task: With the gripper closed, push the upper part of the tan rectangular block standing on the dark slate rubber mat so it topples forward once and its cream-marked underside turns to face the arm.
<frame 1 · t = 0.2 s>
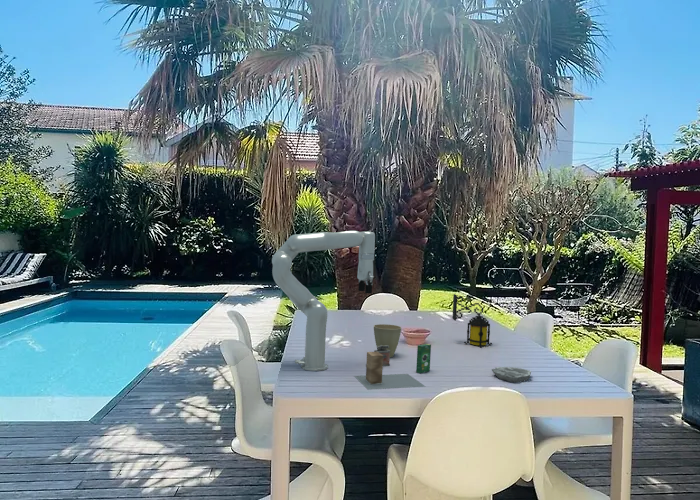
hand: (365, 292, 250), 36 cm above the table, tool pointing down, fingers open, 9 cm apart
wall lantern: (472, 345, 312), on the table
coffee box: (423, 372, 246), on the table
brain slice: (510, 378, 242), on the table
lighter: (381, 365, 255), on the table
slate mat: (388, 382, 225), on the table
plant pot: (386, 356, 275), on the table
tan rectangular block: (373, 381, 223), point 1 cm above the table, touching slate mat
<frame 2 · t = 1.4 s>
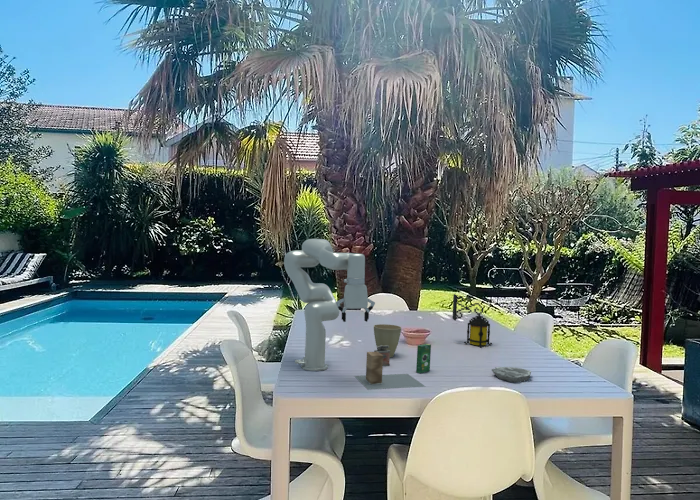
hand: (355, 321, 224), 27 cm above the table, tool pointing down, fingers open, 9 cm apart
nothing on the table moved.
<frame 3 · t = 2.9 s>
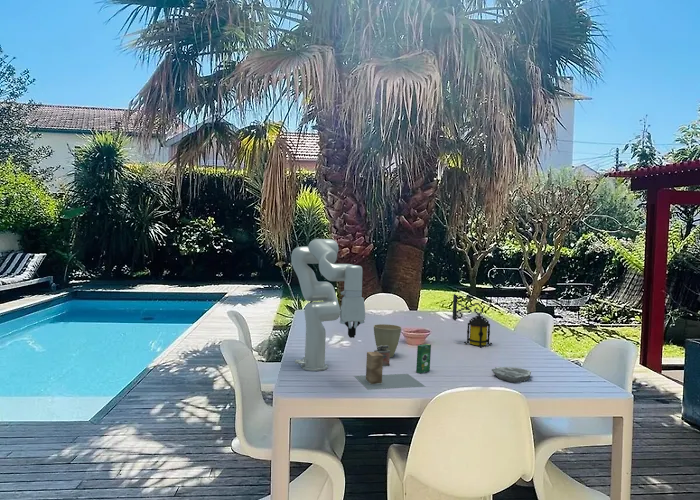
hand: (351, 337, 219), 21 cm above the table, tool pointing down, fingers closed
nothing on the table moved.
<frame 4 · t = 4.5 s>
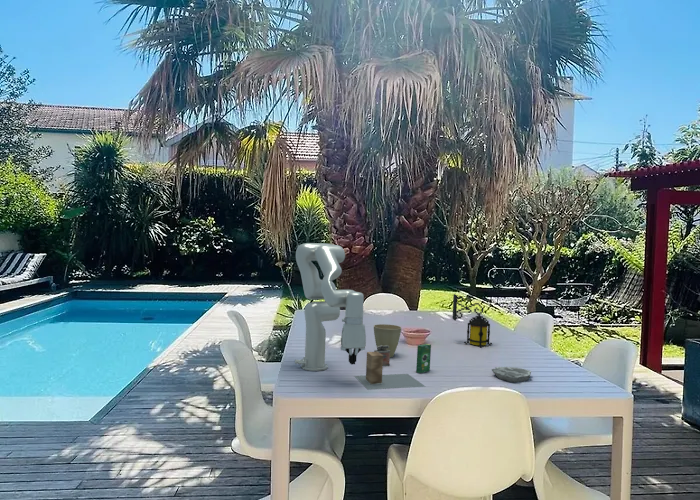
hand: (352, 363, 220), 9 cm above the table, tool pointing down, fingers closed
nothing on the table moved.
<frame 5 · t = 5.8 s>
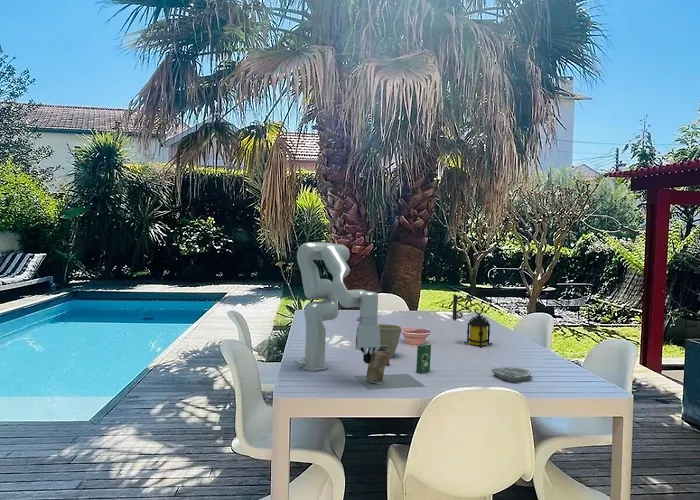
hand: (367, 362, 222), 9 cm above the table, tool pointing down, fingers closed
tan rectangular block: (373, 381, 223), point 1 cm above the table, tilted 8°, touching slate mat
everything else where it was.
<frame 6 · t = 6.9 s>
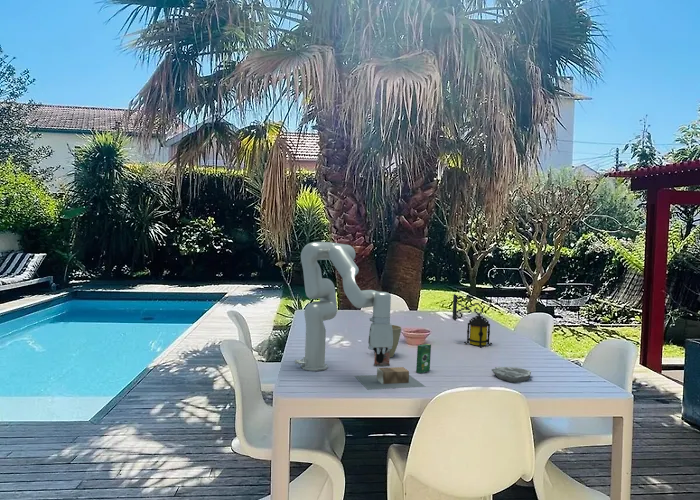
hand: (379, 362, 223), 9 cm above the table, tool pointing down, fingers closed
tan rectangular block: (379, 375, 224), point 3 cm above the table, tilted 90°, touching slate mat
everything else where it was.
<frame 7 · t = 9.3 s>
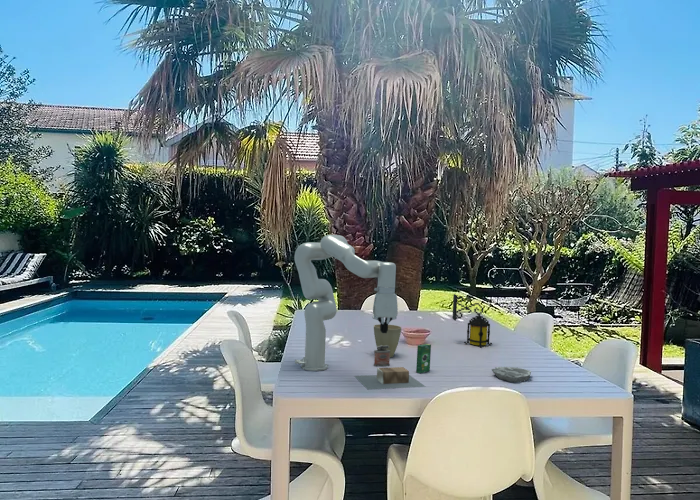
hand: (383, 332, 224), 22 cm above the table, tool pointing down, fingers closed
nothing on the table moved.
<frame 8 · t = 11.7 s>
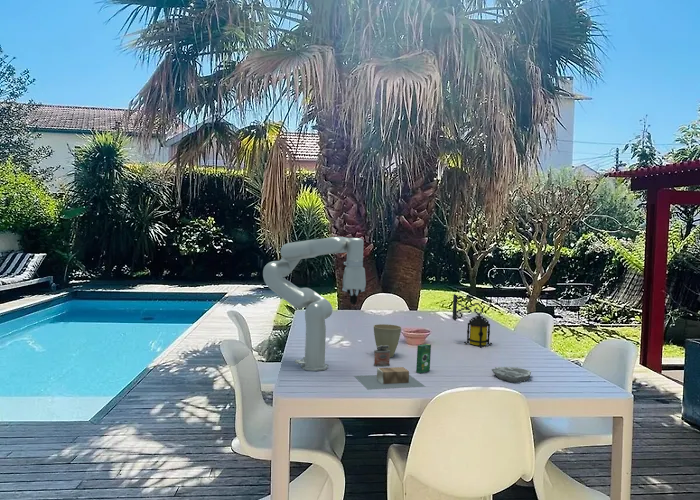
hand: (353, 303, 239), 32 cm above the table, tool pointing down, fingers closed
nothing on the table moved.
at the end: tan rectangular block tilted 90°; tan rectangular block inside the target area (0.5 cm from its centre), point 3.3 cm above the table; tan rectangular block touching slate mat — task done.
